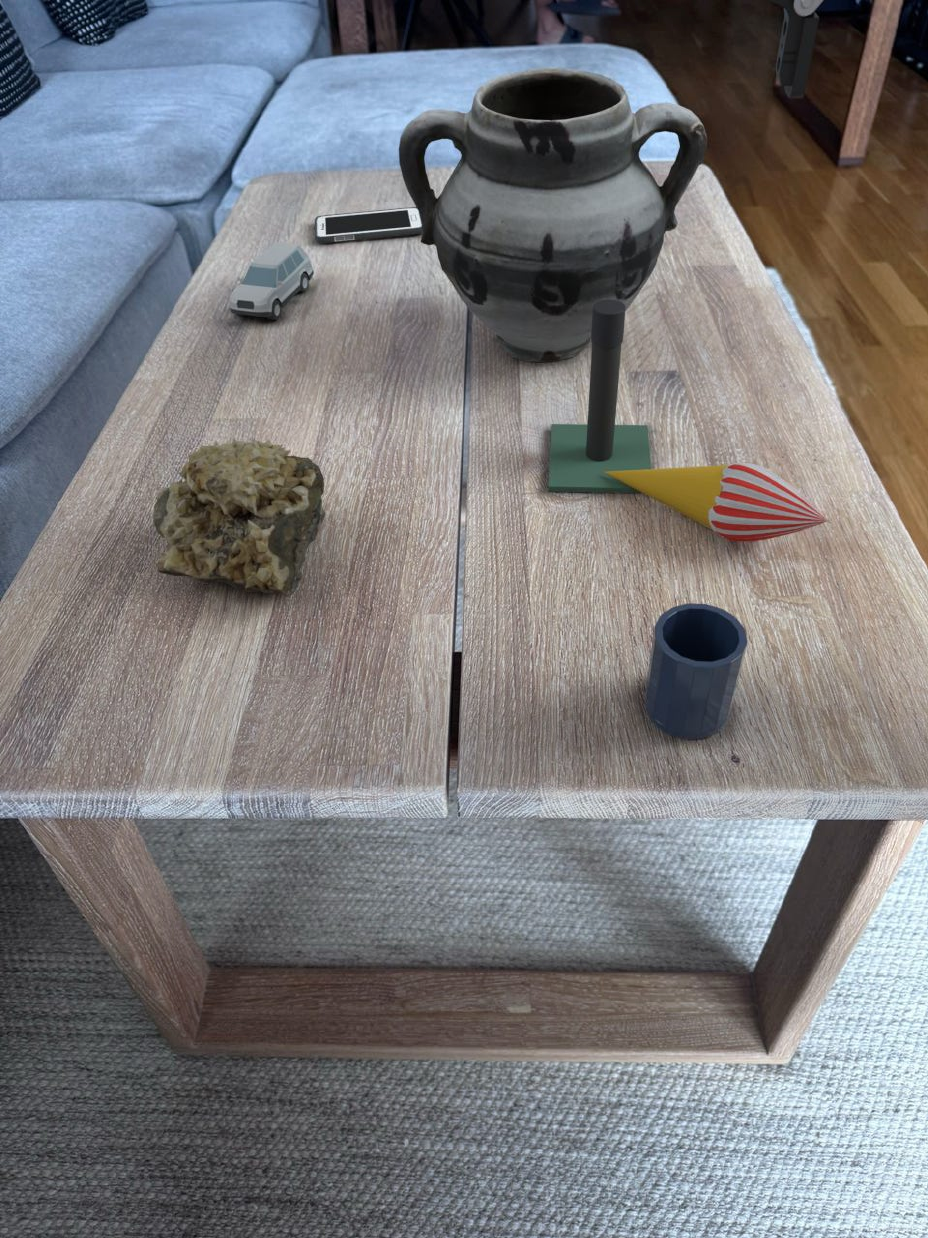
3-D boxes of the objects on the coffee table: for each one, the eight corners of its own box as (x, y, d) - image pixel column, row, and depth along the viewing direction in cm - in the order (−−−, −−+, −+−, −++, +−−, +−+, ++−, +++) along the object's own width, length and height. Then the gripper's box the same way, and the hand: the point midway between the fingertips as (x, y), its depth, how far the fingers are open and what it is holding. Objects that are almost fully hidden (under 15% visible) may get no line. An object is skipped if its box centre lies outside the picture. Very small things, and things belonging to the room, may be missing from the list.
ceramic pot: (672, 295, 105) (702, 47, 88) (689, 399, 89) (730, 120, 72) (427, 296, 108) (409, 56, 91) (400, 397, 92) (372, 127, 74)
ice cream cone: (612, 509, 83) (830, 563, 71) (575, 504, 78) (802, 560, 66) (629, 441, 82) (853, 484, 70) (592, 431, 77) (827, 475, 65)
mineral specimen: (123, 600, 72) (80, 498, 65) (193, 502, 81) (162, 404, 74) (295, 623, 69) (270, 519, 62) (348, 519, 78) (331, 418, 71)
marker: (619, 455, 82) (632, 307, 72) (596, 465, 81) (606, 316, 71) (601, 442, 83) (611, 295, 74) (578, 452, 82) (586, 304, 73)
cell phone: (425, 234, 121) (424, 227, 121) (315, 244, 121) (314, 237, 120) (420, 213, 127) (419, 205, 126) (315, 222, 126) (314, 215, 125)
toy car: (227, 323, 105) (217, 281, 102) (277, 277, 114) (269, 237, 111) (271, 329, 104) (262, 286, 100) (318, 281, 113) (312, 241, 109)
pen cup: (724, 677, 63) (741, 604, 58) (733, 741, 59) (752, 668, 54) (642, 674, 64) (652, 601, 59) (646, 737, 60) (657, 665, 55)
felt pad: (646, 430, 86) (647, 424, 85) (652, 493, 78) (653, 488, 78) (551, 429, 86) (551, 423, 86) (548, 491, 79) (548, 486, 79)
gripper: (820, -347, 35) (747, 117, 46) (1218, -374, 34) (1043, 111, 45) (789, -337, 40) (731, 77, 52) (1131, -360, 39) (994, 70, 50)
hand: (876, 92), depth 48 cm, fingers open, 8 cm apart
